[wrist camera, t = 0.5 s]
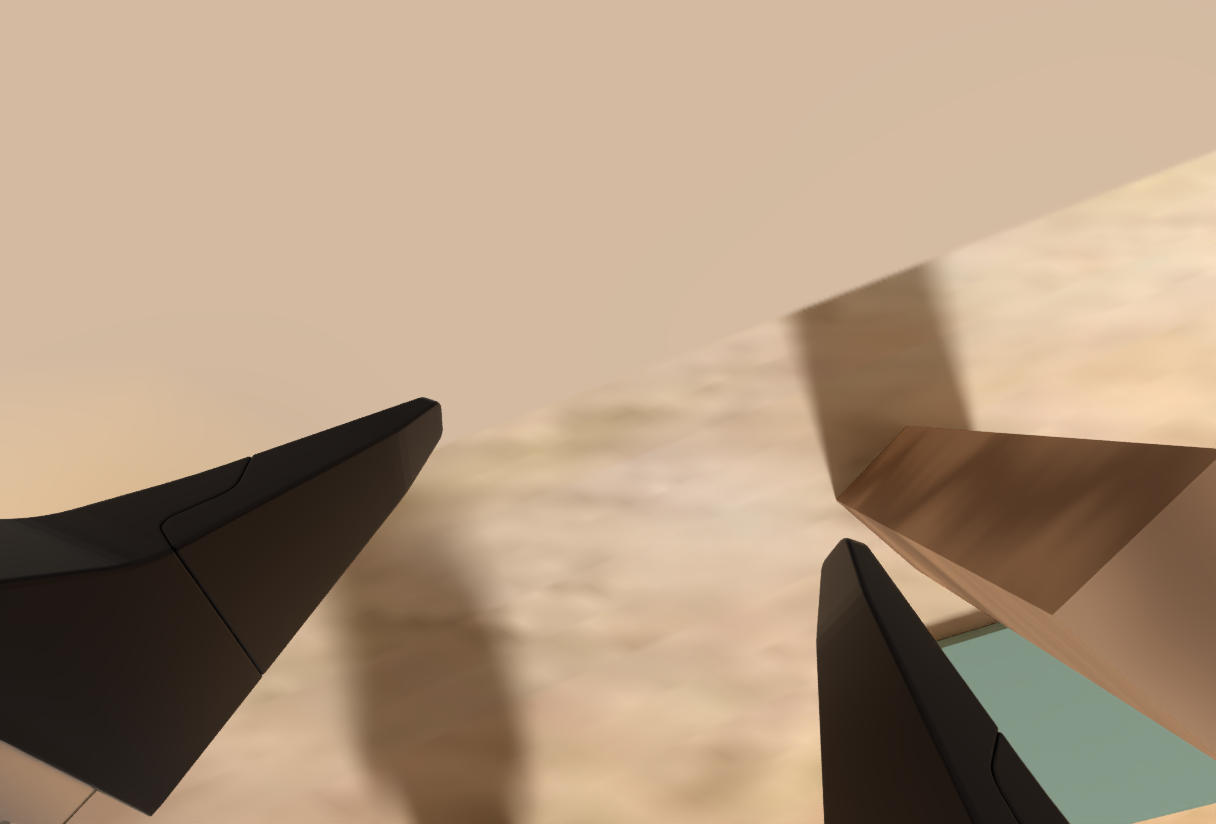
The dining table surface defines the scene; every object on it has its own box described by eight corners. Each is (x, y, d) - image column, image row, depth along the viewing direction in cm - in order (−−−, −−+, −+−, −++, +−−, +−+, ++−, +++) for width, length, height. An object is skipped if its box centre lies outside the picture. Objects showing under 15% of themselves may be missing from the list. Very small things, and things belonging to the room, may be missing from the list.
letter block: (915, 568, 23) (1245, 779, 10) (836, 499, 23) (1052, 614, 10) (991, 492, 22) (1442, 608, 9) (909, 424, 23) (1231, 444, 10)
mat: (1228, 784, 21) (1245, 795, 20) (1005, 840, 22) (1015, 851, 22) (1140, 579, 21) (1154, 584, 21) (926, 644, 23) (933, 650, 22)
